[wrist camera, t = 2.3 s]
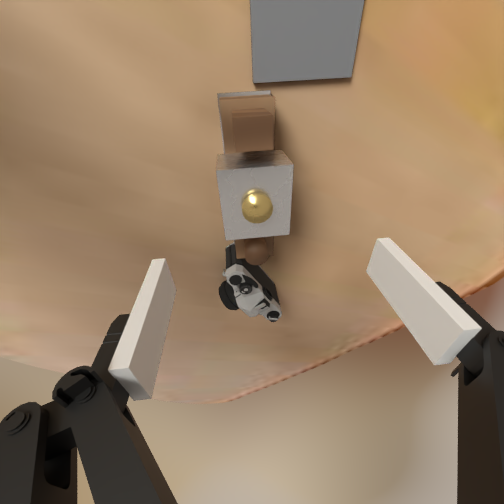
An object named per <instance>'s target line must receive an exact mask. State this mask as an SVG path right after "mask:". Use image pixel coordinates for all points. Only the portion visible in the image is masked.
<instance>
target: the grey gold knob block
mask: <svg viewBox="0 0 504 504" xmlns="http://www.w3.org/2000/svg"><path fill="white" fill-rule="evenodd" d="M293 166H294V164H293V163H292V162H291V161H290V159H289V158H288V157H287V156H286V154H285V153H284V152H283V151H282V150H272V151H258V152H245V153H232V154H218V155H217V166H216V174H217V181H218V188H219V195H220V202H221V209H222V216H223V224H224V231H225V238H226V240H236V239H247V238H258V237H269V236H280V235H289V233H290V216H291V200H292V183H293Z"/></svg>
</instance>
